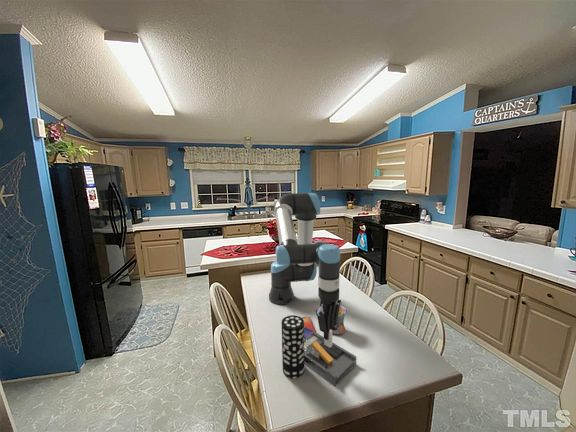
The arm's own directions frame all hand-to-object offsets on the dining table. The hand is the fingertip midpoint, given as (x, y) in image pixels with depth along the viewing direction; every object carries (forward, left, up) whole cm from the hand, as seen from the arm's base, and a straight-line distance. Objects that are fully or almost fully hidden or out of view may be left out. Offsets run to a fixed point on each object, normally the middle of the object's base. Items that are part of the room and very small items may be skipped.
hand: (328, 345), depth 91 cm
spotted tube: (-8, -11, -9) cm, 16 cm away
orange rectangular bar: (-3, 0, -5) cm, 6 cm away
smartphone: (-22, +12, -10) cm, 27 cm away
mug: (-12, +22, -10) cm, 26 cm away
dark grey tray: (-4, +2, -9) cm, 10 cm away
